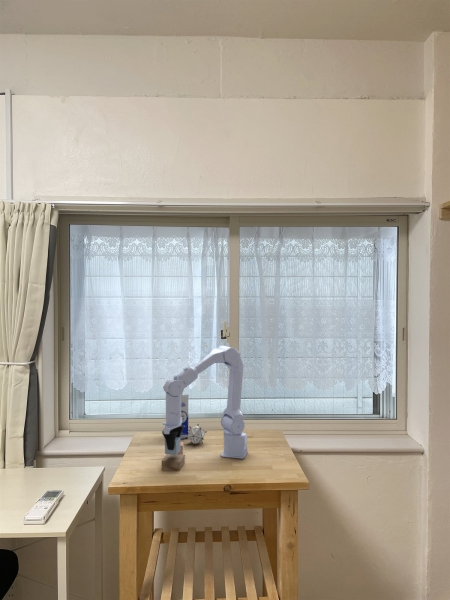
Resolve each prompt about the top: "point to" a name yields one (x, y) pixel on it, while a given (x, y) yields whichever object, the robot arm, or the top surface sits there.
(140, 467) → the top surface
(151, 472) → the top surface
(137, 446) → the top surface
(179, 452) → the terracotta block
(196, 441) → the game die
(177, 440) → the slate block
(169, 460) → the walnut base
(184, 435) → the milk carton
